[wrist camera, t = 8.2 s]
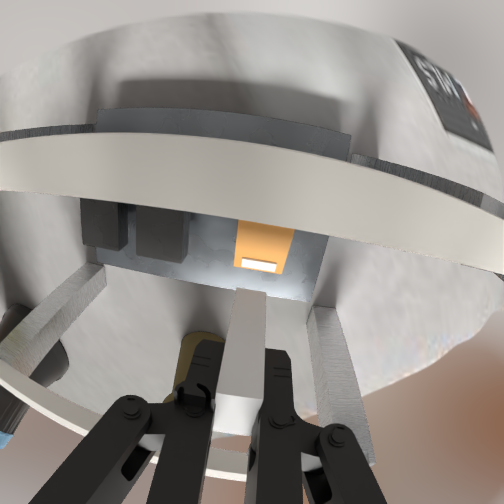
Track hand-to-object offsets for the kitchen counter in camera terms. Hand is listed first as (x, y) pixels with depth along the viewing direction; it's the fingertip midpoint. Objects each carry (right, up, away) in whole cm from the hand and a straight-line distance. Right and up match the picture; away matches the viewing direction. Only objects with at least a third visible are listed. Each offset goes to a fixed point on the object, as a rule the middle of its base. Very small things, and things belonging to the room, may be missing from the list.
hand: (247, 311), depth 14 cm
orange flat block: (+1, +5, +4) cm, 7 cm away
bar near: (-4, +6, -8) cm, 10 cm away
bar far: (-6, -8, -2) cm, 10 cm away
